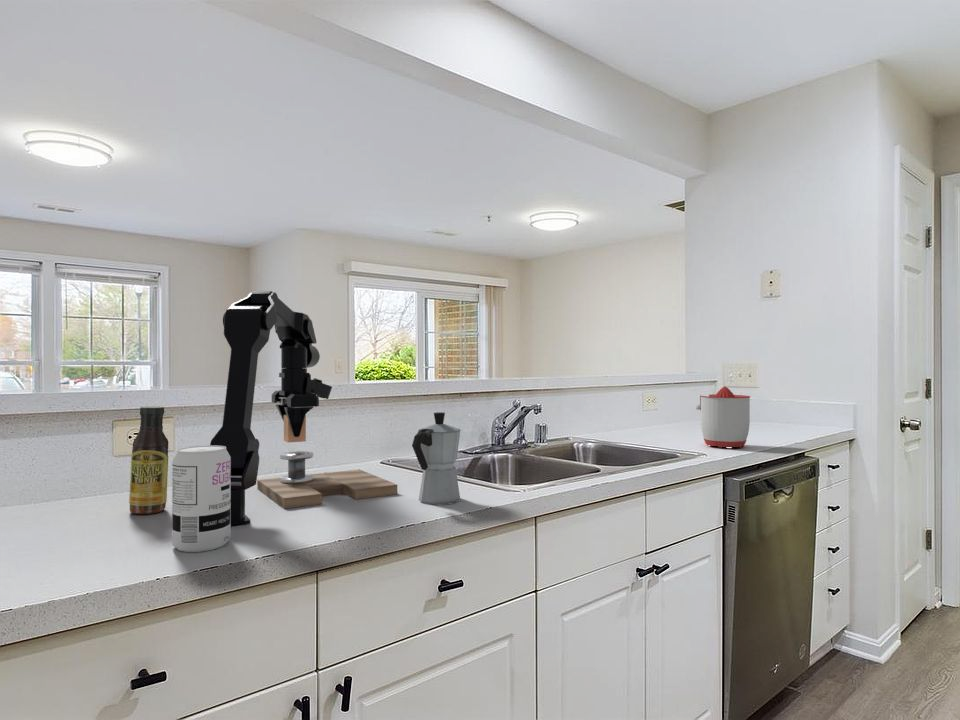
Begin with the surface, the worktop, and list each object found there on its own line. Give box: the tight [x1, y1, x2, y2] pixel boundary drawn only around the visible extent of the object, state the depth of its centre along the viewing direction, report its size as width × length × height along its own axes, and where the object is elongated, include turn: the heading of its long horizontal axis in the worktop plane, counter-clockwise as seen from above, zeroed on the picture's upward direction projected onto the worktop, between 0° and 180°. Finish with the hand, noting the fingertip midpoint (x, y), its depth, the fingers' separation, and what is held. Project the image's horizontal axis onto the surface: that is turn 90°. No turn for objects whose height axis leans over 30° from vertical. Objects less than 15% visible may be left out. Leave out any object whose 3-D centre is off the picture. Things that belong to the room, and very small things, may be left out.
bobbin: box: [279, 450, 314, 484], centre depth 135 cm, size 7×7×6 cm
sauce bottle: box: [128, 405, 169, 515], centre depth 116 cm, size 6×6×20 cm
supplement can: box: [171, 444, 232, 553], centre depth 95 cm, size 8×8×15 cm
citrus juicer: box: [696, 386, 751, 448], centre depth 204 cm, size 16×17×20 cm
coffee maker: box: [411, 411, 461, 506], centre depth 125 cm, size 15×9×18 cm, turn 149°
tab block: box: [283, 415, 307, 443], centre depth 142 cm, size 4×4×6 cm
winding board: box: [256, 469, 398, 509], centre depth 133 cm, size 22×24×2 cm
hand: (294, 435), depth 142 cm, fingers closed on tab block, 4 cm apart
